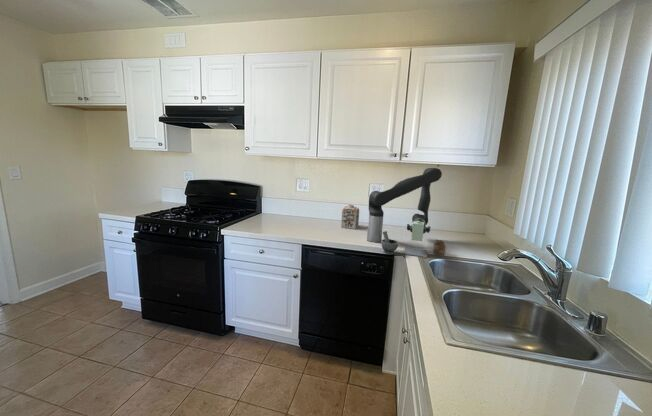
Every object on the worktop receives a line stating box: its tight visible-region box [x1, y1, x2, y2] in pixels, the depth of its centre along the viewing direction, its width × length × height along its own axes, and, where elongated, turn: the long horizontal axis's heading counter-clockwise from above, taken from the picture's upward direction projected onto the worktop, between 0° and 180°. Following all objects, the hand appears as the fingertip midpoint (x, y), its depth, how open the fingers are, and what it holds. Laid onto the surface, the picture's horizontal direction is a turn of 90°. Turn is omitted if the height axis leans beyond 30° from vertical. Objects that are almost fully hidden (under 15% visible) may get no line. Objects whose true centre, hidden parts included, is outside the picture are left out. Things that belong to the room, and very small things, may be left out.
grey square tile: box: [402, 246, 428, 259], centre depth 161 cm, size 13×13×1 cm
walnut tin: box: [432, 239, 447, 257], centre depth 160 cm, size 6×6×8 cm
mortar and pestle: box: [380, 230, 399, 255], centre depth 159 cm, size 11×9×12 cm
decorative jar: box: [340, 203, 360, 230], centre depth 215 cm, size 12×12×18 cm
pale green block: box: [411, 221, 424, 242], centre depth 159 cm, size 6×6×11 cm
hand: (417, 231), depth 157 cm, fingers closed on pale green block, 6 cm apart
